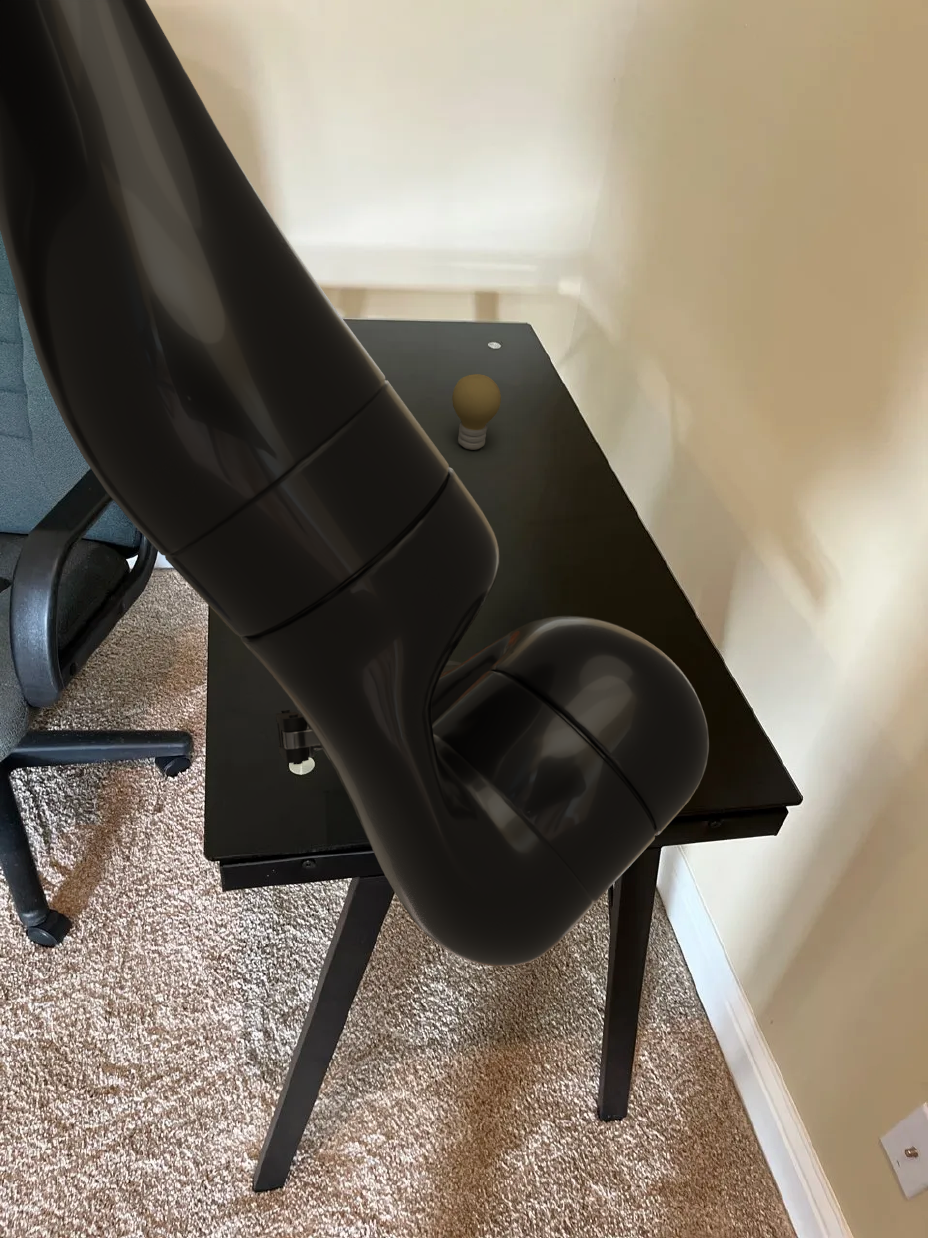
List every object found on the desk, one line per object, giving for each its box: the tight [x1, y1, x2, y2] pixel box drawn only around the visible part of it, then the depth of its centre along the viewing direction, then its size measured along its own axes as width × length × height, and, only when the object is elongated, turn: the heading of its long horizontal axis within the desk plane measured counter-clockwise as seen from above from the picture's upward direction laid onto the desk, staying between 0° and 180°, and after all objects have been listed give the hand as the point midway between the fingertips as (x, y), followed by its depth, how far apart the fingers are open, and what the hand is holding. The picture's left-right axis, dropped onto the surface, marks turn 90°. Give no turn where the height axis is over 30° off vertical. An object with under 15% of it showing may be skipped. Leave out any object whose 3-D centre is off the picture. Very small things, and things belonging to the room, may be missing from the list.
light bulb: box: [451, 373, 502, 451], centre depth 110 cm, size 6×6×10 cm
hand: (382, 714), depth 56 cm, fingers open, 8 cm apart
